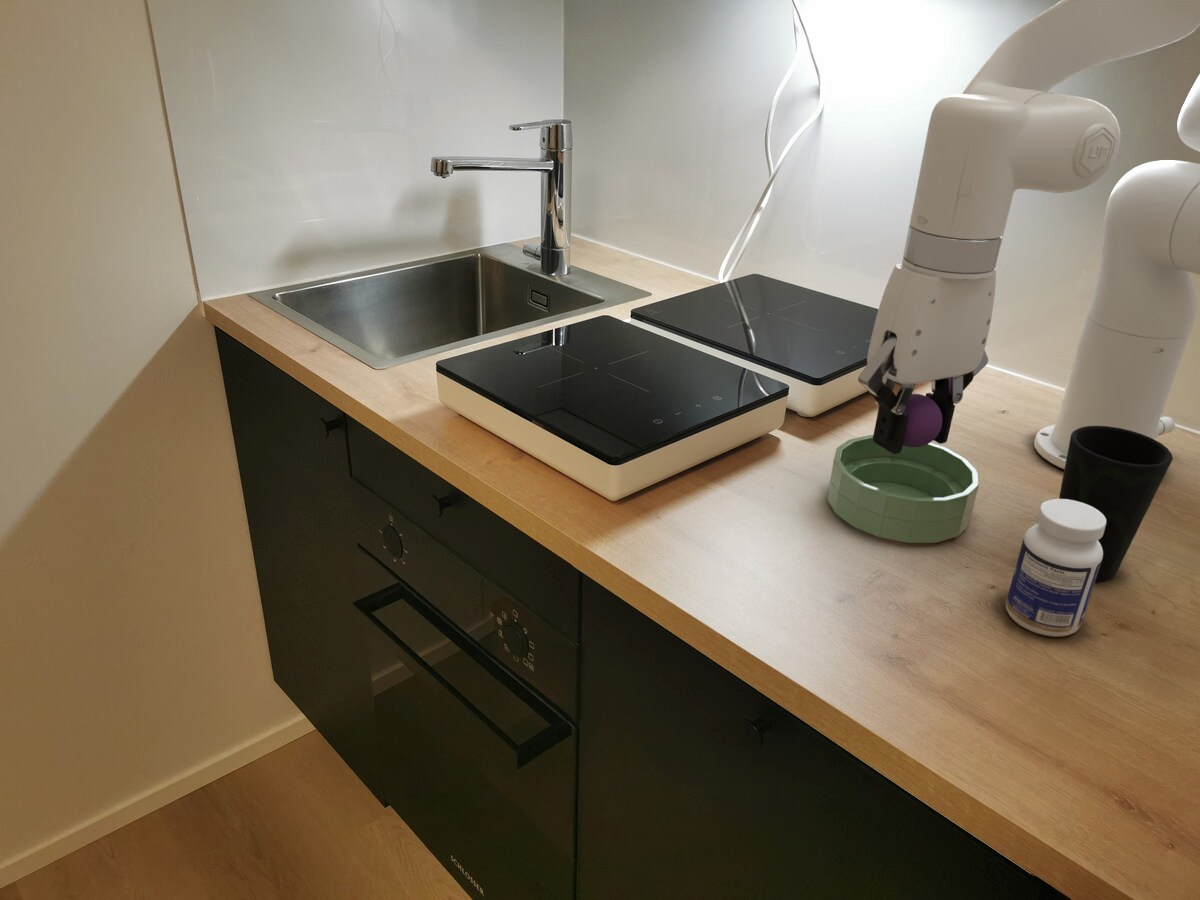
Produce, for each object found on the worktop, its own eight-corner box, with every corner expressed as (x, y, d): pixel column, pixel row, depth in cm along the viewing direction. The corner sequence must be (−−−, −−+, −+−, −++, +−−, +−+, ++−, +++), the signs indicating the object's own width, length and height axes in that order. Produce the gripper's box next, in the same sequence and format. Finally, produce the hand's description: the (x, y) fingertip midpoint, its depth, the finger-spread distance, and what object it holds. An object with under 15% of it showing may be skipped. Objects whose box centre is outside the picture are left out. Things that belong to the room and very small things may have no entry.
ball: (909, 429, 89) (919, 382, 86) (947, 451, 85) (959, 402, 82) (870, 438, 86) (879, 389, 84) (907, 460, 83) (918, 410, 80)
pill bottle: (1031, 589, 78) (1062, 487, 73) (1094, 625, 74) (1131, 520, 69) (989, 609, 75) (1018, 505, 70) (1051, 648, 71) (1087, 540, 66)
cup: (1141, 595, 78) (1187, 471, 72) (1046, 582, 79) (1084, 459, 73) (1114, 547, 84) (1154, 430, 79) (1027, 535, 86) (1061, 420, 80)
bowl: (899, 468, 97) (908, 426, 95) (997, 529, 86) (1009, 483, 84) (800, 492, 91) (806, 448, 89) (891, 560, 81) (901, 512, 79)
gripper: (988, 233, 84) (945, 413, 92) (843, 248, 77) (811, 441, 85) (1056, 254, 78) (1005, 444, 86) (906, 272, 71) (866, 476, 79)
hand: (909, 440), depth 85 cm, fingers closed on ball, 4 cm apart
